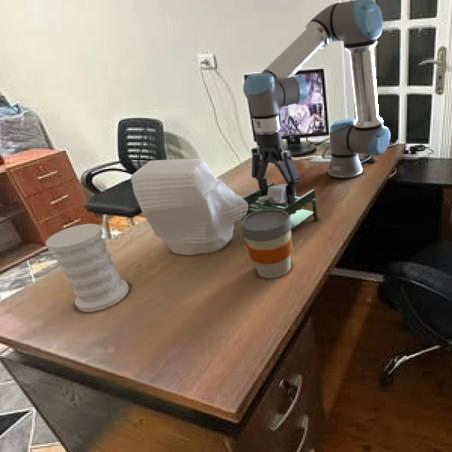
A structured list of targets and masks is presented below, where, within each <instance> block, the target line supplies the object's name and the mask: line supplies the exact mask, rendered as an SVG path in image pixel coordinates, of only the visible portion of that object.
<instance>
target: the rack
mask: <svg viewBox="0 0 452 452" xmlns="http://www.w3.org/2000/svg"><path fill="white" fill-rule="evenodd" d="M267 186H268V188H270V187H271V186H275V182H273V181H272V182H269V183H267ZM244 196H245V197H243V198H242V199H244V200H245V201H246V202H247V203H248V210H253V211H259V210H264V209H262V208H267V209H280V210H284V211H286V212H287V213H288V214H289V217H290V220H291V224H292V228H291V232H292V231H294V230H295V229H296V228H298V227H299V226H300V225H302V224H303V223H305V221H307V220H309V219H310V218H312V217H313V221H314V222H317V221H318V220H319V217H318V216H319V215H318V207H317V199H316V189H311V190H309V191H308V192H306V193H305V194H303V195H302V196H297V195H296V196H295V201H294V202H292V203H291V204H289V205H288V200H287V199H286V202H284V203H282V204H280V203H271V202H269V200H265V201H263V202H262V203H266V204H262V203H257V202H255V201H257V200H258V198H259V197H262V195H261V190H260V189H257V190H254V191H253V192H251V193H249V194H247V195H244ZM250 204H252V205H253V206H258V207H262V208H257V207H253V206H249V205H250ZM267 204H271V205H273V206H271V205H267ZM308 204H311V206H312V210H308V209H303V207H304V208H305V207H307V206H308ZM245 216H247V214H246V215H245ZM245 216H244V217H245ZM244 217H243V218H244ZM243 218H242V219H243Z"/></svg>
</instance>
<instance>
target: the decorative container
mask: <svg viewBox="0 0 452 452" xmlns="http://www.w3.org/2000/svg"><path fill="white" fill-rule="evenodd" d="M103 234H104V231H103V228H102V227H101V225H99V224H97V223H85V224H84V223H83V224H78V225H74V226H71V227H68V228H65V229H62V230H60V231H58V232H56V233H54V234H52V235H51V236H49V237H48V238H47V239H46V241H45V246H46V248H47V250H48V251H50V252H51V253H52V252H53V253H54V259H55V261H56V262H57V263H59V264H60V270H61V272H62V273H63V274H64V275H65V276H66V282H67V283H68V284H69V285H70V286H71V287H72V288H71V289H72V293H73V295H75V299H74V304H75V307H76V309H77V310H79V311H80V312H84V313H92V312H98V311H102V310H105V309H107V308H109V307H112V306H114V305H115V304H117V303H119V302H120V301H121V300H123V299H124V298H125V297H126V296H127V294H128V293H129V289H130V288H129V285H128V283H127V281H126V280H125V279H122V278H121V276H120V273H119V271H118V270H117V267H116V262H114V260H112V254H111V252H110V250H109V249H108V248H107V242H106V240H105V239H104V238H103V237H102V236H103Z"/></svg>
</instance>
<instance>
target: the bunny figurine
mask: <svg viewBox="0 0 452 452" xmlns="http://www.w3.org/2000/svg"><path fill="white" fill-rule="evenodd" d="M286 185H288V184H287V183H278V184H277V185H274V186H271V187H270V188H268V194H267V196H263V197H259V198H258V202H263V201H265V200H269V202H271V203H280V204H282V203H284V202H286V199H287V193H286ZM295 191H296V193H295V194H294V196H296V197H297V189H296V188H295Z"/></svg>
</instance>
